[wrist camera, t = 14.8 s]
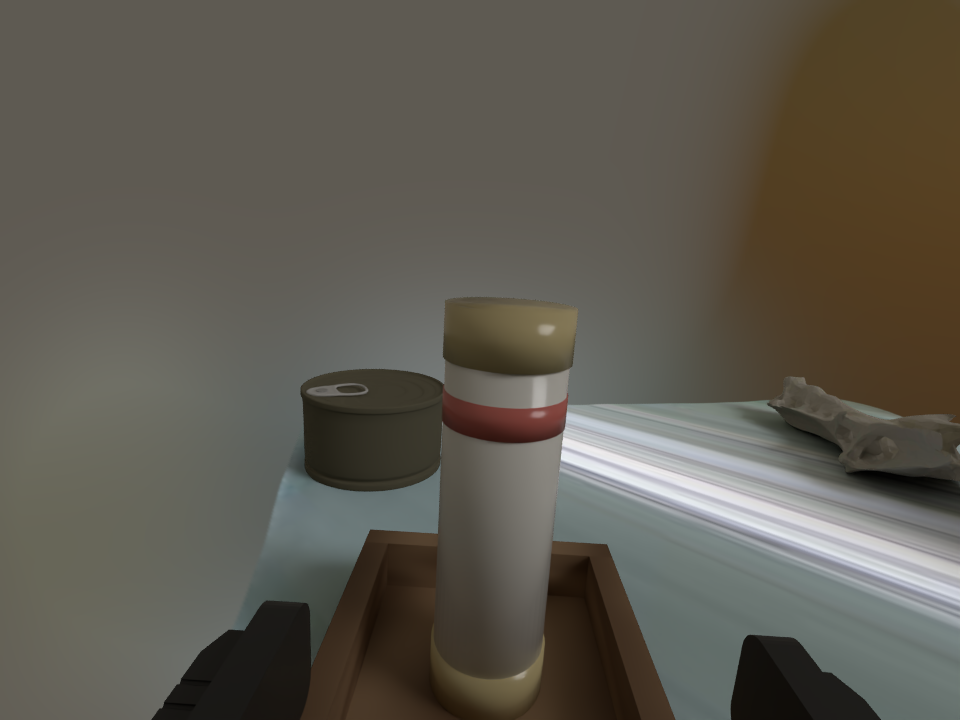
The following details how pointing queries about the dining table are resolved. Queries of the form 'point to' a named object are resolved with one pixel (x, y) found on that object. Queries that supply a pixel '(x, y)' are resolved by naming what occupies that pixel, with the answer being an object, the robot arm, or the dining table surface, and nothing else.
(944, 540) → the dining table surface
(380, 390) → the can
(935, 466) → the skull
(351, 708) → the tray
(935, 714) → the dining table surface
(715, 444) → the dining table surface
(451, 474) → the fuse
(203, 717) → the robot arm
